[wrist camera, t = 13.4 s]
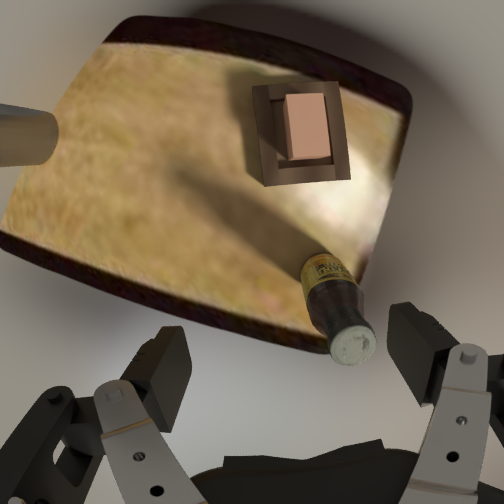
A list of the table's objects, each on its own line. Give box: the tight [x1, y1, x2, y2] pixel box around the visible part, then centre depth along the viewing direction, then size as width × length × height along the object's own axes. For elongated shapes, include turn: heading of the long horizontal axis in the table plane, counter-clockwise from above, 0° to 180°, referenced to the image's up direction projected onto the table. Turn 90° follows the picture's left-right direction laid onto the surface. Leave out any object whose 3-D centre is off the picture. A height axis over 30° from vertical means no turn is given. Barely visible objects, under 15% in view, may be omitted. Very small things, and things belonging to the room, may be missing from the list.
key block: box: [282, 93, 331, 161], centre depth 33 cm, size 7×4×7 cm, turn 6°
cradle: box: [252, 81, 351, 187], centre depth 36 cm, size 11×13×2 cm
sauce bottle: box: [301, 253, 376, 366], centre depth 32 cm, size 6×6×20 cm
